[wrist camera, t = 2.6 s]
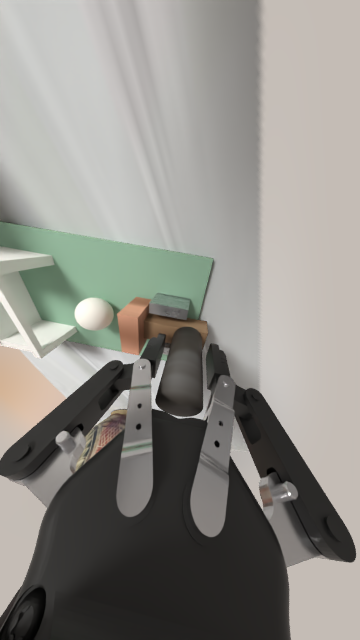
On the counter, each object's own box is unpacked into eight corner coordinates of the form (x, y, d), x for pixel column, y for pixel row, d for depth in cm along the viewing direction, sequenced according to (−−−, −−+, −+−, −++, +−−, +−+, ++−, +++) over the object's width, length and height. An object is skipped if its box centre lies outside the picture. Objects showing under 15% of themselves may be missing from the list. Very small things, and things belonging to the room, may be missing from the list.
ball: (87, 290, 17) (59, 302, 14) (118, 295, 17) (97, 310, 13) (94, 316, 19) (71, 333, 16) (121, 322, 19) (103, 340, 16)
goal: (-2, 245, 15) (-91, 248, 11) (51, 255, 15) (-16, 262, 11) (38, 323, 21) (-9, 348, 17) (77, 331, 21) (41, 358, 16)
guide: (157, 292, 16) (149, 302, 13) (190, 298, 16) (188, 310, 13) (154, 336, 20) (148, 351, 17) (181, 341, 19) (178, 357, 17)
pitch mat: (-13, 219, 15) (-20, 218, 14) (213, 258, 14) (213, 258, 13) (44, 333, 23) (41, 335, 23) (186, 362, 22) (186, 364, 22)
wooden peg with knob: (136, 296, 16) (67, 358, 8) (209, 310, 16) (219, 389, 8) (137, 329, 19) (86, 401, 10) (200, 341, 19) (200, 426, 10)
